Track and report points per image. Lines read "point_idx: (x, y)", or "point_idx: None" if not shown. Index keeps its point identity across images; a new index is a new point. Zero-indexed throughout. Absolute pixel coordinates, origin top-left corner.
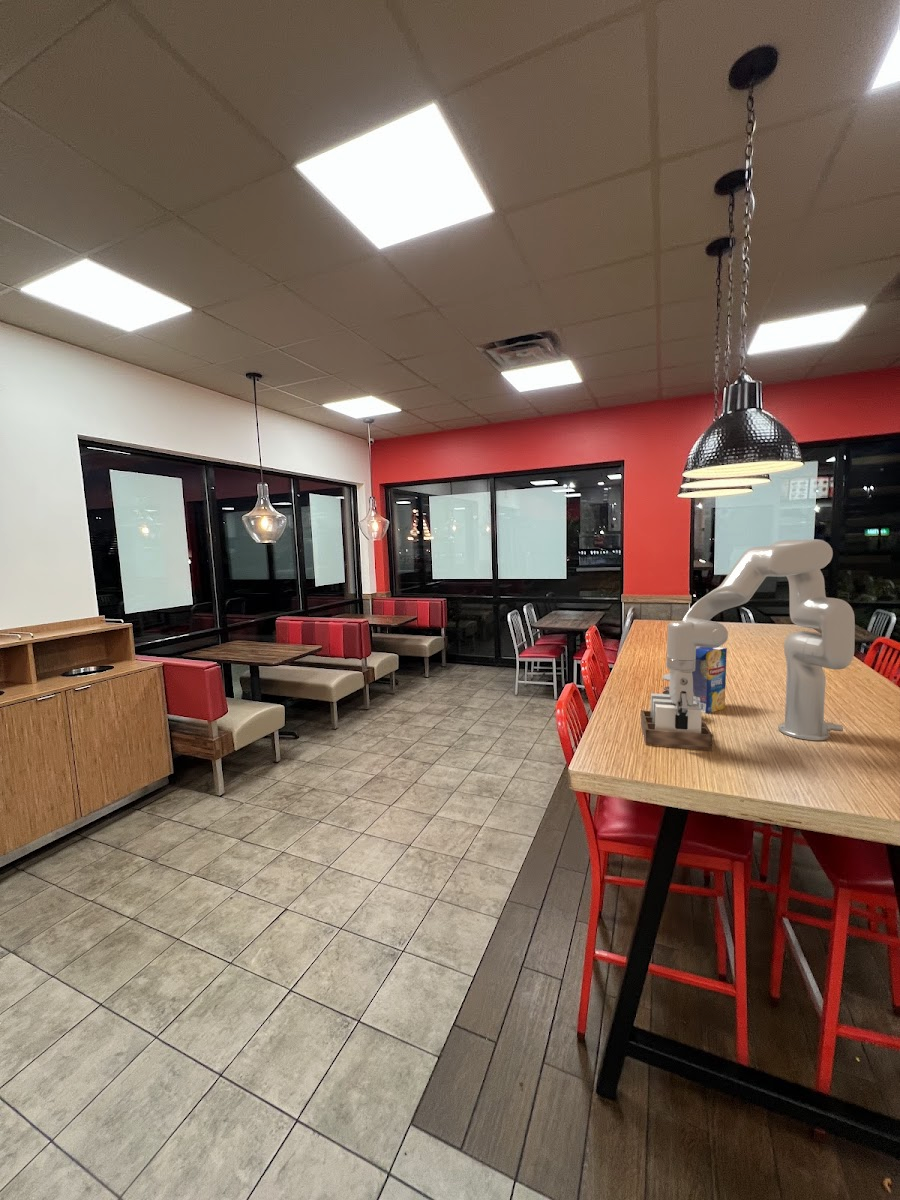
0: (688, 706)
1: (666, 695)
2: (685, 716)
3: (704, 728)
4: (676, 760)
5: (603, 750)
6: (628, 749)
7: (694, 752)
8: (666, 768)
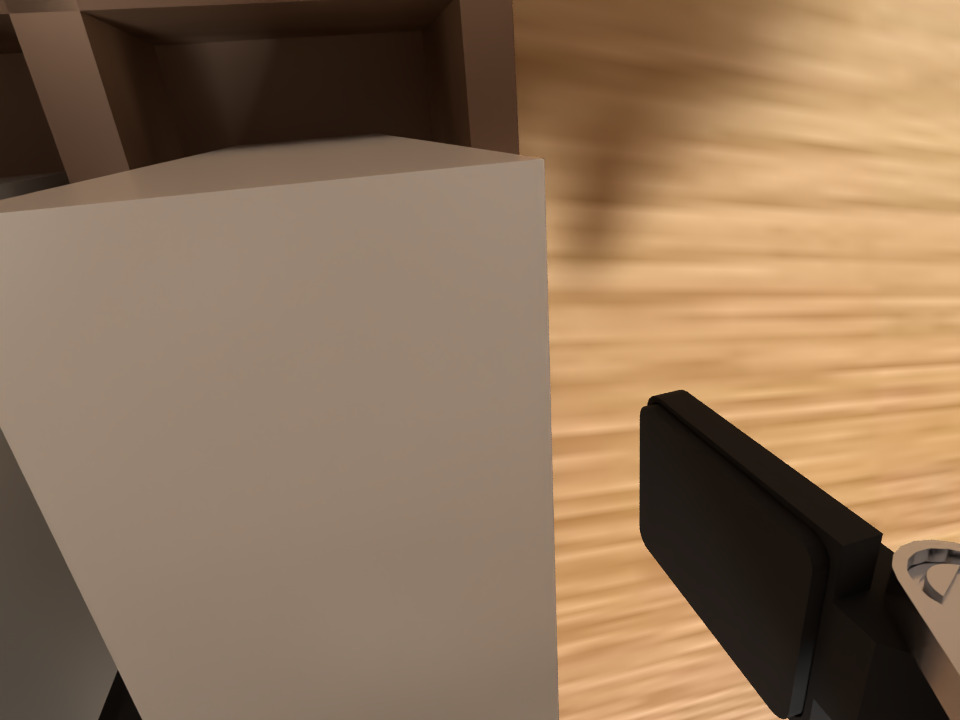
0: (143, 704)
1: None
2: (850, 564)
3: (93, 32)
4: (758, 365)
5: None
6: (623, 661)
7: (556, 215)
8: (886, 417)
